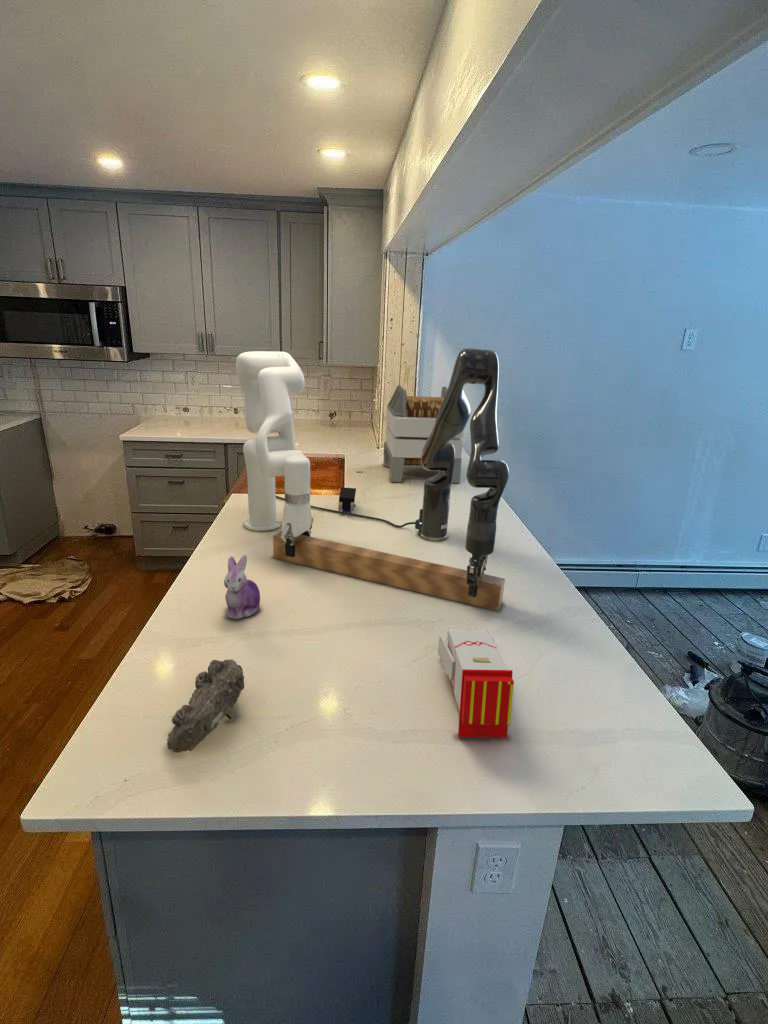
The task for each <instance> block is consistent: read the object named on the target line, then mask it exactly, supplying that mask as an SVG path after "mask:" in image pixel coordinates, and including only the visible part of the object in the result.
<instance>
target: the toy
mask: <svg viewBox="0 0 768 1024" xmlns="http://www.w3.org/2000/svg"><path fill="white" fill-rule="evenodd" d="M446 640H447V643H446V641H445V639H444V636H443V635H442V634H439V637H438V646H437V656H438V657H439V659H440V661H441V663H442V666H443V668H444V670H445V672H446V674H447V677H448V679H449V681H450V684H451V687H452V690H453V693H454V697H455V701H456V705H457V708H458V711H459V714H458V715H459V716H458V730H457V731H458V732H457V737H458V738H508V731H509V726H510V725H511V717H512V707H513V697H514V696H513V695H514V684H515V680H514V679H513V673H514V671H513V670H512V669H508V667H507V665H506V662H505V661H504V659H503V658H502V655H501V653H500V651H499V649H498V647H497V643H496V639H495V637H494V635H493V634H491V632H490V631H489V629H467V628H466V629H465V628H463V629H461V628H460V629H459V628H448V630H447V639H446Z"/></svg>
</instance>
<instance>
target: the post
mask: <svg viewBox="0 0 768 1024" xmlns="http://www.w3.org/2000/svg"><path fill="white" fill-rule="evenodd" d="M281 534H282V530H280V531H278V532H277V533H275V534H273V535H272V546H273V547H272V550H273V551H272V553H273V558H274V559H277V560H281V561H286V562H290V563H294V564H299V565H302V566H307V567H310V568H315V569H319V570H323V571H328V572H332V573H336V574H340V575H345V576H348V577H353V578H357V579H361V580H365V581H369V582H374V583H378V584H382V585H387V586H390V587H396V588H400V589H403V590H408V591H413V592H416V593H420V594H425V595H429V596H433V597H438V598H441V599H446V600H450V601H454V602H458V603H463V604H467V605H471V606H474V607H480V608H483V609H487V610H492V611H497V612H498V611H499V610H500V608H501V606H502V604H503V597H504V591H505V583H506V578H504V577H499V576H496V575H491V574H486V573H484V574H482V575H481V576H480V577H479V581H478V582H479V583H478V587H477V595H476V597H472V596H469V595H468V590H469V584H467V569H462V568H458V567H453V566H448V565H443V564H439V563H434V562H431V561H425V560H420V559H415V558H411V557H406V556H402V555H397V554H393V553H389V552H384V551H379V550H374V549H370V548H365V547H360V546H355V545H351V544H346V543H342V542H337V541H333V540H327V539H323V538H319V537H313V536H311V535H310V536H305V535H301V534H300V535H299V536H297V537H296V538H295V541H294V545H295V557H290V556H286V555H285V544H284V542H283V540H282V538H281ZM290 534H292V535H293V533H290ZM289 539H290V540H291V539H292V537H289ZM472 580H474V579H472Z"/></svg>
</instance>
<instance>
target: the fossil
mask: <svg viewBox="0 0 768 1024" xmlns="http://www.w3.org/2000/svg"><path fill="white" fill-rule="evenodd" d="M243 670H244V669H243V667H242V665H240V664H237V662H236V661H235V660H234V659H232V658H231V659H227V658H226V659H224V660H223V661H222V660H217V659H212V660H211V661H210V663H209V665H208V666H207V671H201V672H199V673H198V674H197V675H196V676H195V680H194V684H195V685H194V687H195V689H194V690H193V693H192V694H191V697H190V698H189V700H188V704H184V705H182V706H181V707H180V709H177V710H176V711H175V713H174V715H173V716H172V718H171V723H172V724H173V727H172V730H171V731H170V732H168V734H167V738H166V741H167V742H166V745H167V749H168V750H169V751H173V752H174V753H176V754H178V753H182V752H188V751H189V752H192V751H193V750H195V748H196V747H197V746H199V744H200V743H201V742H203V741H204V740H205V739H206V738H207V737H208V736H209V735H210V734H211V733H212V732H214V730H215V729H217V727H218V726H219V724H220V722H221V721H222V720H223V719H224V718H225V716H226V717H227V719H229V720H233V717H232V715H230V714H229V710H230V709H231V708H234V706H235V704H236V703H237V702H238V699H239V697H240V695H241V693H242V691H243V690H245V689H244V688H245V675H244V671H243Z"/></svg>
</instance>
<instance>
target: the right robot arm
mask: <svg viewBox="0 0 768 1024" xmlns="http://www.w3.org/2000/svg"><path fill="white" fill-rule="evenodd" d="M499 364H500V363H499V357H498V354H497V353H496V352H495V351H494V350H490V349H481V348H471V347H469V348H468V347H467V348H462V349H461V350H460V351H459V353H457V356H456V359H455V362H454V366H453V369H452V373H451V377H450V380H449V384H448V387H447V389H448V390H447V392H446V395H445V398H444V400H443V402H442V405H441V407H440V410H439V412H438V415H437V418H436V421H435V424H434V427H433V429H432V431H431V433H430V435H429V437H428V439H427V441H426V443H425V445H424V447H423V450H422V453H421V465H422V466H421V467H422V468H423V470H425V471H428V472H429V471H430V472H438V473H436V474H435V475H433V476H431V477H429V478H427V479H425V480H424V482H423V493H422V496H423V497H422V506H421V508H420V509H419V516H418V519H416V520H415V521H409V522H405V523H403V524H401V525H397V524H394V523H393V522H391V521H389V520H387V519H383V518H380V517H379V518H378V517H373V516H368V515H364V514H357V513H352V512H351V513H349V512H343V513H344V515H349V514H350V515H349V516H354V517H359V518H365V519H369V520H375V521H379V522H384V523H387V524H389V525H390V526H392V527H395V528H400V529H401V528H404V527H405V526H406V527H407V526H408V525H409V526H410V525H414V529H415V530H417V535H418V536H420V538H421V539H424V540H426V541H432V542H440V541H444V540H446V539H447V538H448V525H449V517H450V516H449V514H450V504H451V494H452V493H451V491H452V484H453V483H452V479H453V471H454V464H455V449H454V446H453V445H452V444H450V443H447V442H449V441H450V440H452V439H454V438H455V437H456V436H458V435H459V434H460V433H461V432H462V431H463V430H464V431H465V428H466V426H467V424H468V422H469V420H470V422H469V434H470V457H469V460H468V465H467V468H466V475H465V476H466V481H467V483H468V484H469V486H470V487H472V488H475V489H488V490H487V491H485V492H483V493H479V494H475V495H474V496H472V497H471V500H470V507H469V517H468V521H467V527H466V536H465V546H464V547H465V548H464V549H465V551H467V552H468V553H470V555H471V556H470V557H469V560H468V565H467V566H466V570H467V584H469V590H468V595H469V596H472V597H476V595H477V587H478V583H479V582H478V581H479V577H480V576H481V575H482V574H485V572H486V571H487V565H488V558H489V556H490V555H492V554H493V553H494V551H495V543H496V535H497V518H498V509H499V504H500V502H501V498H502V495H503V493H504V491H505V488H506V486H507V485H508V482H509V477H510V469H509V466H508V464H507V463H506V462H505V461H504V460H501V459H500V460H499V459H498V460H497V459H482V458H483V457H487V456H491V455H494V454H495V453H497V452H498V451H499V448H500V442H499V431H498V419H497V413H498V411H497V410H498V397H499V396H498V395H499V394H498V393H499V377H500V376H499V375H500V374H499V372H500V367H499V366H500V365H499ZM467 384H472V385H483V386H484V387H483V388H484V391H483V392H484V393H483V396H482V399H481V401H479V404H478V406H477V408H476V409H475V410H474V412H473V414H472V416H471V412H472V410H471V405H470V402H469V399H468V398H467V396H466V394H465V391H464V386H465V385H467ZM470 417H471V418H470ZM276 499H280V500H283V501H285V497H282V496H278V495H276ZM310 506H311V509H316V510H321V511H326V512H331V513H337V514H342V511H339V510H336V509H329V508H324V507H321V506H320V507H319V506H314V505H311V504H310ZM472 579H474V580H472Z"/></svg>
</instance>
